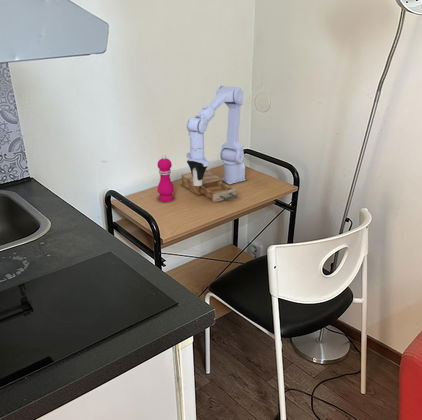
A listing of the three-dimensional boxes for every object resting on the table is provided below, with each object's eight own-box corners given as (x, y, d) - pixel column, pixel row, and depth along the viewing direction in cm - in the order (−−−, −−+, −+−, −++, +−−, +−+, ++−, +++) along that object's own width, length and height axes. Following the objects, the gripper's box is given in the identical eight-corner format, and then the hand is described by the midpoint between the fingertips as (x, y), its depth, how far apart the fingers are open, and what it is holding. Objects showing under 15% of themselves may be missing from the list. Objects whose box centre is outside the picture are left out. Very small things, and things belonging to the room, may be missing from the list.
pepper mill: (161, 203, 190) (159, 159, 181) (155, 197, 196) (152, 154, 187) (177, 200, 192) (175, 156, 184) (170, 194, 198) (168, 151, 190)
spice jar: (199, 182, 191) (199, 166, 188) (204, 184, 188) (204, 169, 185) (191, 184, 190) (190, 168, 187) (196, 187, 187) (195, 171, 184)
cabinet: (221, 189, 201) (222, 178, 199) (198, 195, 196) (198, 184, 194) (204, 179, 213) (204, 169, 211) (181, 184, 208) (181, 174, 206)
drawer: (242, 199, 187) (242, 192, 186) (219, 206, 183) (220, 198, 181) (218, 186, 202) (218, 179, 201) (197, 191, 197) (197, 184, 196)
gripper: (179, 144, 186) (180, 174, 192) (198, 153, 174) (198, 185, 180) (194, 141, 189) (194, 171, 195) (213, 150, 177) (213, 181, 183)
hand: (197, 177), depth 188 cm, fingers closed on spice jar, 4 cm apart
